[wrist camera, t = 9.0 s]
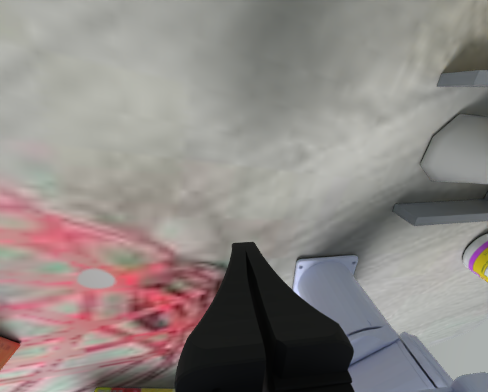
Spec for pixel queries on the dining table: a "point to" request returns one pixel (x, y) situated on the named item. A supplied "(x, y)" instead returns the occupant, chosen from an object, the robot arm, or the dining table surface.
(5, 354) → the cracker box
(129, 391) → the snack box
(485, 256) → the supplement bottle
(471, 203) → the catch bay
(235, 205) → the dining table surface
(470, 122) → the flask
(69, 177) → the dining table surface
